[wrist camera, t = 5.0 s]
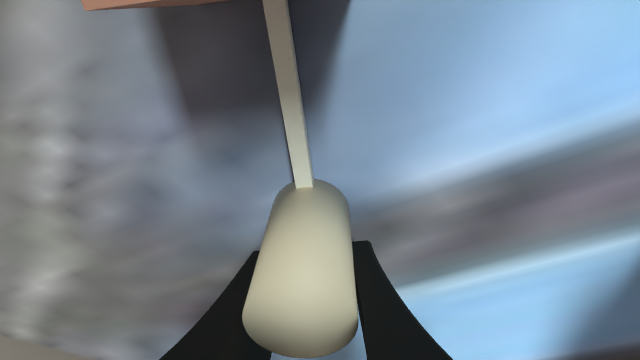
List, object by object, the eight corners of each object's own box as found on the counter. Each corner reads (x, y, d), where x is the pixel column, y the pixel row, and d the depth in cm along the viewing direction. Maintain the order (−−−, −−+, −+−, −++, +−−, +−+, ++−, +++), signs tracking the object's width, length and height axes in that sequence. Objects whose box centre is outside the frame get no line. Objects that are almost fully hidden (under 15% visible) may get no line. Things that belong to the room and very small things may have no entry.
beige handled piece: (339, -303, 7) (352, -871, 2) (370, 238, 13) (389, 354, 9) (130, -258, 7) (-196, -670, 3) (262, 245, 14) (230, 361, 9)
